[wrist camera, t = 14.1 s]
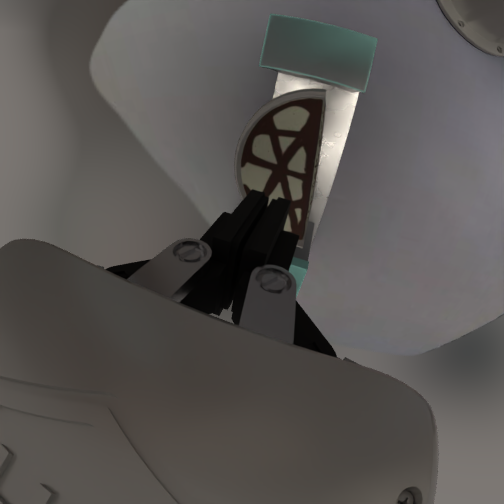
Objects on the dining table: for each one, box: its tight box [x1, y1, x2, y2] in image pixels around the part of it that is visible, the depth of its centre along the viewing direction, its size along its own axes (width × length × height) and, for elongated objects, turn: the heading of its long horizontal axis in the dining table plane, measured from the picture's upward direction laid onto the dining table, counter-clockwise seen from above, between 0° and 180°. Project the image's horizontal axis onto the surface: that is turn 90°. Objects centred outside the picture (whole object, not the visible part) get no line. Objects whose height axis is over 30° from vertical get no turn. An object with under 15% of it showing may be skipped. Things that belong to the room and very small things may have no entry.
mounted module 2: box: [259, 14, 378, 93], centre depth 17 cm, size 7×4×9 cm, turn 79°
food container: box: [234, 88, 326, 248], centre depth 22 cm, size 12×6×10 cm, turn 176°
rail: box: [273, 72, 359, 248], centre depth 27 cm, size 8×23×2 cm, turn 169°
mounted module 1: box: [289, 221, 315, 297], centre depth 28 cm, size 7×4×9 cm, turn 79°
